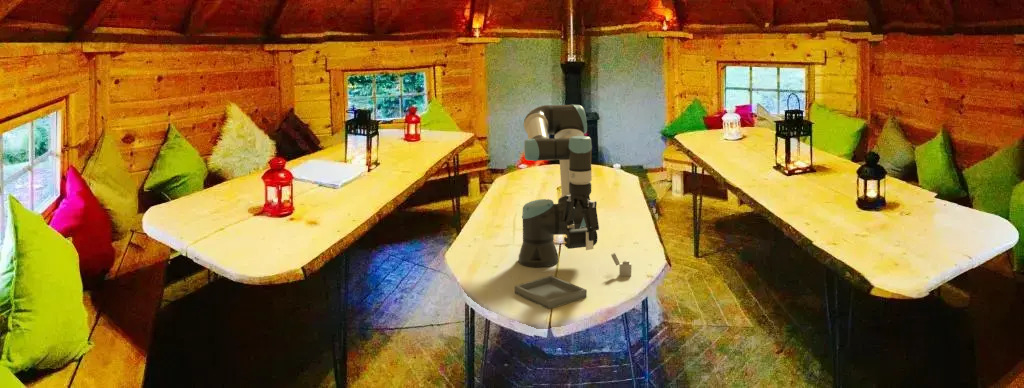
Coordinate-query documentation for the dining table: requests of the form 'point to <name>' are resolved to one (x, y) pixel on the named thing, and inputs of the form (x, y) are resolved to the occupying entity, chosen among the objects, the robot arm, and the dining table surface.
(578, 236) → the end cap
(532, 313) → the dining table surface
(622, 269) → the lighter
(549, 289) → the seat tray
